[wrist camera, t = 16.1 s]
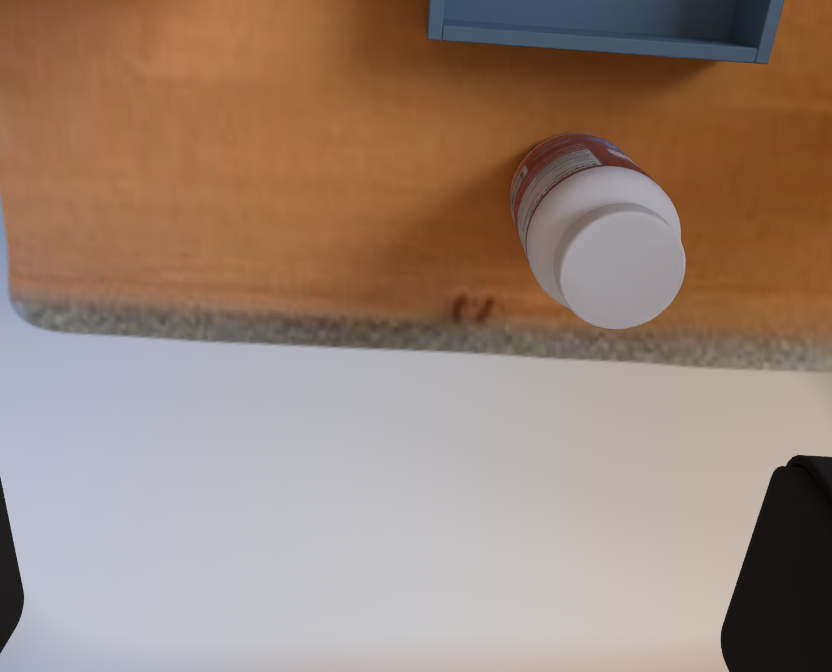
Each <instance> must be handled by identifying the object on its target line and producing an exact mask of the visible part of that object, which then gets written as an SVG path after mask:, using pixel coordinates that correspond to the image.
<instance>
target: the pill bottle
mask: <svg viewBox="0 0 832 672" xmlns="http://www.w3.org/2000/svg"><path fill="white" fill-rule="evenodd" d="M510 209H511V214H512V217H513V221H514V224H515V227H516V229H517V232H518V235H519V237H520V240H521V243H522V246H523V249H524V251H525V254H526V257H527V260H528V263H529V265H530V267H531V270H532V272H533V274H534V276H535V278H536V280H537V282H538V283H539V285H540V286H541V288H542V289H543V290H544V291H545V292H546V293H547V294H548V295H549V296H550V297H551V298H552V299H554V300H555V301H557V302H558V303H560V304H561V305H563V306H565V307H567V308H569V309H571V310H572V312H574V313H575V314H576V315H577V316H578V317H579V318H581V319H582V320H584V321H585V322H587V323H589V324H591V325H594V326H597V327H600V328H606V329H626V328H631V327H635V326H638V325H641V324H644V323H646V322H648V321H650V320H651V319H653V318H655V317H656V316H658V315H659V314H660V313H661V312H662V311H664V310H665V309H666V308H667V307H668V306H669V305H670V304H671V302H672V301H673V299H674V298H675V296H676V295H677V293H678V291H679V290H680V287H681V285H682V282H683V279H684V275H685V264H686V261H685V253H684V249H683V246H682V243H681V228H680V221H679V218H678V214H677V212H676V209H675V207H674V205H673V203H672V201H671V200H670V198H669V197H668V196H667V194H666V193H665V192H664V191H663V189H662V188H661V187H660V186H659V185H658V184H657V183H656V182H655V181H654V180H653V179H652V178H651V177H649V176H648V175H647V174H646V173H645V172H644V171H643V170H642V169H641V168H640V167H639V166H638V165H637V164H636V163H635V162H633V161H632V160H631V159H630V158H629V157H628V156H627V155H626V154H625V153H624V152H623V151H622V150H621V149H619V148H618V147H617V146H616V145H614V144H613V143H611V142H610V141H608V140H606V139H604V138H602V137H600V136H597V135H594V134H590V133H583V132H570V133H564V134H560V135H557V136H554V137H551V138H549V139H547V140H545V141H544V142H542V143H540V144H539V145H538V146H536V147H535V148H534V149H533V150H532V151H530V153H529V154H528V155H527V156H526V157H525V158H524V159H523V161H522V162H521V164H520V165H519V167H518V169H517V171H516V173H515V175H514V178H513V181H512V184H511V189H510Z"/></svg>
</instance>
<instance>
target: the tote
mask: <svg viewBox="0 0 832 672" xmlns="http://www.w3.org/2000/svg"><path fill="white" fill-rule="evenodd" d="M783 4H784V0H428V7H427V22H426V34H427V39H428V40H439V41H440V40H441V39H442V40H443V41H453V42H467V43H481V44H494V45H508V46H522V47H536V48H550V49H563V50H577V51H591V52H605V53H618V54H632V55H646V56H660V57H674V58H687V59H701V60H715V61H729V62H743V63H756V64H768V63H769V59H770V55H771V51H772V47H773V43H774V39H775V35H776V31H777V27H778V23H779V20H780V16H781V12H782V8H783Z"/></svg>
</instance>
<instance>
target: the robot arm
mask: <svg viewBox="0 0 832 672" xmlns="http://www.w3.org/2000/svg"><path fill="white" fill-rule="evenodd" d="M23 604H24V592H23V587H22V582H21V577H20V572H19V567H18V562H17V557H16V552H15V547H14V542H13V537H12V533H11V528H10V522H9V518H8V513H7V509H6V503H5V498H4V493H3V488H2V483H1V478H0V653H1V651H2V650H3V648H4V646H5V645H6V643H7V641H8V640H9V638H10V636H11V635H12V633H13V631H14V630H15V628H16V626H17V624H18V622H19V620H20V617H21V614H22V609H23ZM721 648H722V653H723V657H724V660H725V663H726V665H727V667H728V669H729V672H832V457H822V456H821V457H820V456H805V455H797V456H795V457H792V459H790V461H789V462H788V463H787V465H786V466H781V467H778V468H777V469H776V470H775V471H774V472H773V475H772V477H771V480H770V483H769V486H768V489H767V492H766V495H765V498H764V501H763V504H762V507H761V510H760V513H759V516H758V519H757V522H756V525H755V528H754V531H753V534H752V538H751V541H750V544H749V547H748V550H747V553H746V556H745V559H744V562H743V565H742V568H741V571H740V574H739V577H738V580H737V583H736V587H735V589H734V593H733V596H732V599H731V602H730V605H729V608H728V611H727V614H726V617H725V620H724V623H723V626H722V631H721Z"/></svg>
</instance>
